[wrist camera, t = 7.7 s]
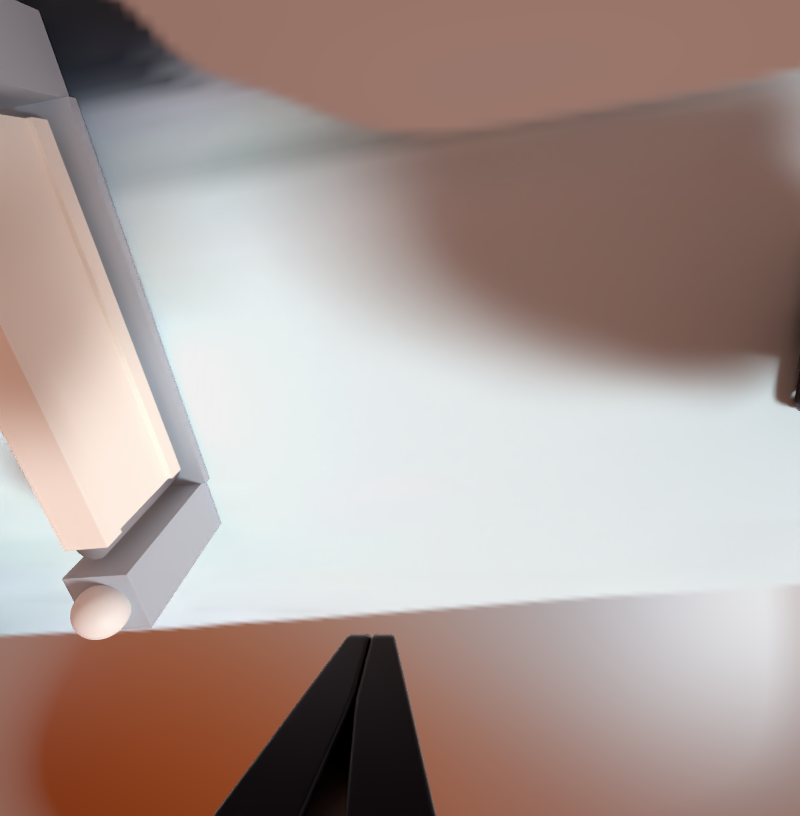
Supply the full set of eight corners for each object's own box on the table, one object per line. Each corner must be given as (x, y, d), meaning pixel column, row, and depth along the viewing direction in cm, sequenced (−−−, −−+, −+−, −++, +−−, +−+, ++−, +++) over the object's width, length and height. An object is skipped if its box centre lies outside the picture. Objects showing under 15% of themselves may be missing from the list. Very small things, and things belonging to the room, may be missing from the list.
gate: (51, 120, 16) (-112, 93, 11) (187, 479, 21) (114, 561, 17) (8, 129, 16) (-169, 107, 12) (153, 482, 22) (71, 565, 17)
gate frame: (44, 8, 15) (-252, -121, 9) (225, 522, 23) (137, 656, 16) (-51, 31, 16) (-398, -76, 9) (157, 528, 24) (45, 660, 17)
